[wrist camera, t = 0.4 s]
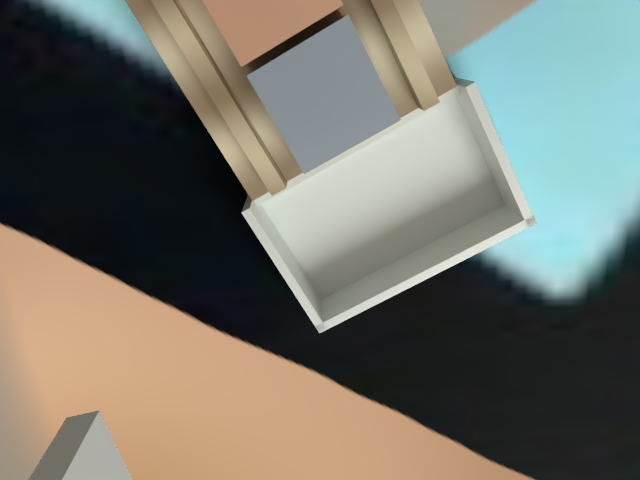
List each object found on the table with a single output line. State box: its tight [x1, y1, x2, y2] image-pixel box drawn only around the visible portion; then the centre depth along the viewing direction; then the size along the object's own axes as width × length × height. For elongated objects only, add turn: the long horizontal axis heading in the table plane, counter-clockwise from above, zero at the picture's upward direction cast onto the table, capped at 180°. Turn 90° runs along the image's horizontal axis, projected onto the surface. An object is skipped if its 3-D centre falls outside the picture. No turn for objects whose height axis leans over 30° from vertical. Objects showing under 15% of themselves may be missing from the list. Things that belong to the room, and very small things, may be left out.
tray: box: [241, 78, 536, 333], centre depth 35 cm, size 10×16×4 cm, turn 119°
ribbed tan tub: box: [125, 0, 457, 201], centre depth 31 cm, size 14×14×6 cm
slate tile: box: [247, 15, 401, 174], centre depth 29 cm, size 6×6×3 cm
